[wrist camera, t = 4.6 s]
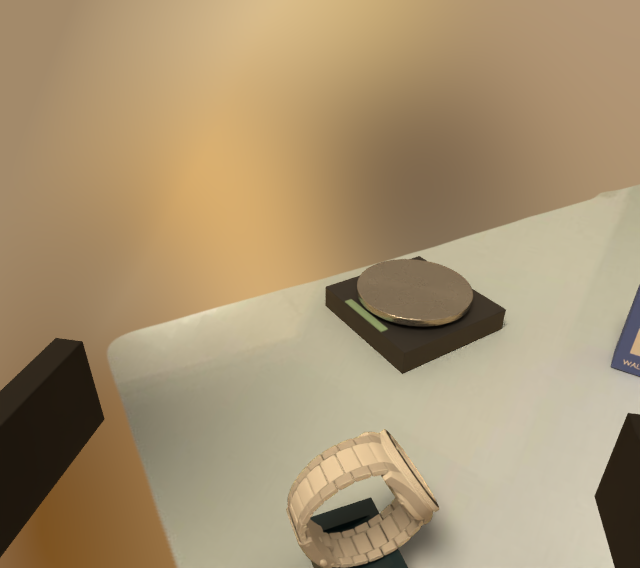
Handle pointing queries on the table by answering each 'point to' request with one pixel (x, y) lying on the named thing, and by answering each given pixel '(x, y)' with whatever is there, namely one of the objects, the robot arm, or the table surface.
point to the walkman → (629, 341)
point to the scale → (412, 327)
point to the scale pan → (414, 292)
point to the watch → (359, 505)
